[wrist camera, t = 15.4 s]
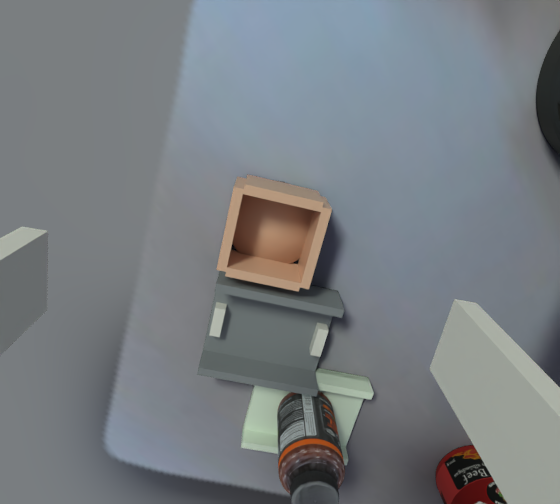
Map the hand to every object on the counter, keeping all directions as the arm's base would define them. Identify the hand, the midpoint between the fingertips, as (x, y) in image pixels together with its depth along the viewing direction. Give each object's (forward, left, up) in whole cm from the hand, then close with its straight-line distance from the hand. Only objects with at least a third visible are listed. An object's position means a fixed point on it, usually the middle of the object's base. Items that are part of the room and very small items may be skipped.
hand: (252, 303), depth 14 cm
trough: (-10, +24, -26) cm, 36 cm away
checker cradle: (-4, +15, -26) cm, 30 cm away
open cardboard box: (-2, +5, -26) cm, 26 cm away
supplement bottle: (-10, +24, -25) cm, 36 cm away
